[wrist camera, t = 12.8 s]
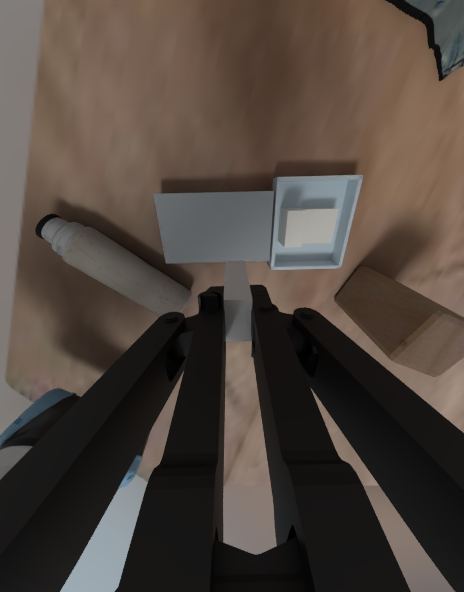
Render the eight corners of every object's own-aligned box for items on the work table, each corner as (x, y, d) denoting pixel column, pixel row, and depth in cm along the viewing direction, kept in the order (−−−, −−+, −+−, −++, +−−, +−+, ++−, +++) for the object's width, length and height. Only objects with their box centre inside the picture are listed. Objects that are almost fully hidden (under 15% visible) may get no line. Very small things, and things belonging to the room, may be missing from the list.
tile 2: (284, 247, 35) (301, 247, 35) (288, 210, 33) (306, 210, 33) (277, 240, 41) (292, 239, 41) (279, 208, 38) (295, 207, 38)
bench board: (171, 256, 43) (165, 263, 39) (161, 193, 37) (153, 193, 33) (265, 254, 43) (269, 261, 39) (269, 190, 37) (274, 190, 33)
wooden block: (331, 299, 48) (390, 363, 30) (359, 262, 44) (447, 311, 26) (364, 313, 50) (438, 381, 32) (393, 279, 46) (497, 335, 28)
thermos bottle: (183, 300, 49) (65, 227, 41) (196, 286, 43) (62, 197, 35) (167, 327, 44) (30, 250, 36) (180, 315, 38) (20, 220, 30)
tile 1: (331, 243, 38) (325, 239, 41) (339, 208, 35) (331, 207, 38) (300, 243, 38) (295, 240, 41) (304, 209, 35) (299, 208, 38)
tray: (267, 263, 44) (270, 269, 40) (272, 178, 36) (277, 176, 33) (331, 262, 44) (340, 268, 40) (350, 176, 36) (363, 174, 33)
